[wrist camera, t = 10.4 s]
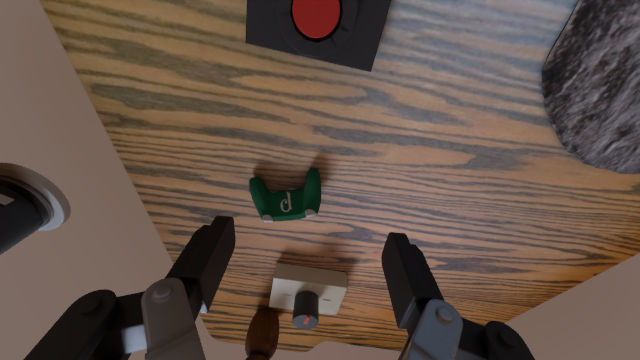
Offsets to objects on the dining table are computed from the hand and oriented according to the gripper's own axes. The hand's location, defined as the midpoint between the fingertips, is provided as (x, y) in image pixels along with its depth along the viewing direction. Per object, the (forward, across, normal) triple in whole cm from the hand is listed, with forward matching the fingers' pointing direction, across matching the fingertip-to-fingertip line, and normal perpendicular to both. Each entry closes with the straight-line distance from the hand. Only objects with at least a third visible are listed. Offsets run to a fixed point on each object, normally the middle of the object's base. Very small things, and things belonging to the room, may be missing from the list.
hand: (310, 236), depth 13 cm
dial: (+15, -1, +29) cm, 33 cm away
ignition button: (+15, +1, -11) cm, 18 cm away
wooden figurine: (+18, +6, +40) cm, 44 cm away
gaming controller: (+18, +3, +10) cm, 21 cm away
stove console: (+18, -1, +29) cm, 34 cm away
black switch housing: (+18, +1, -10) cm, 21 cm away
